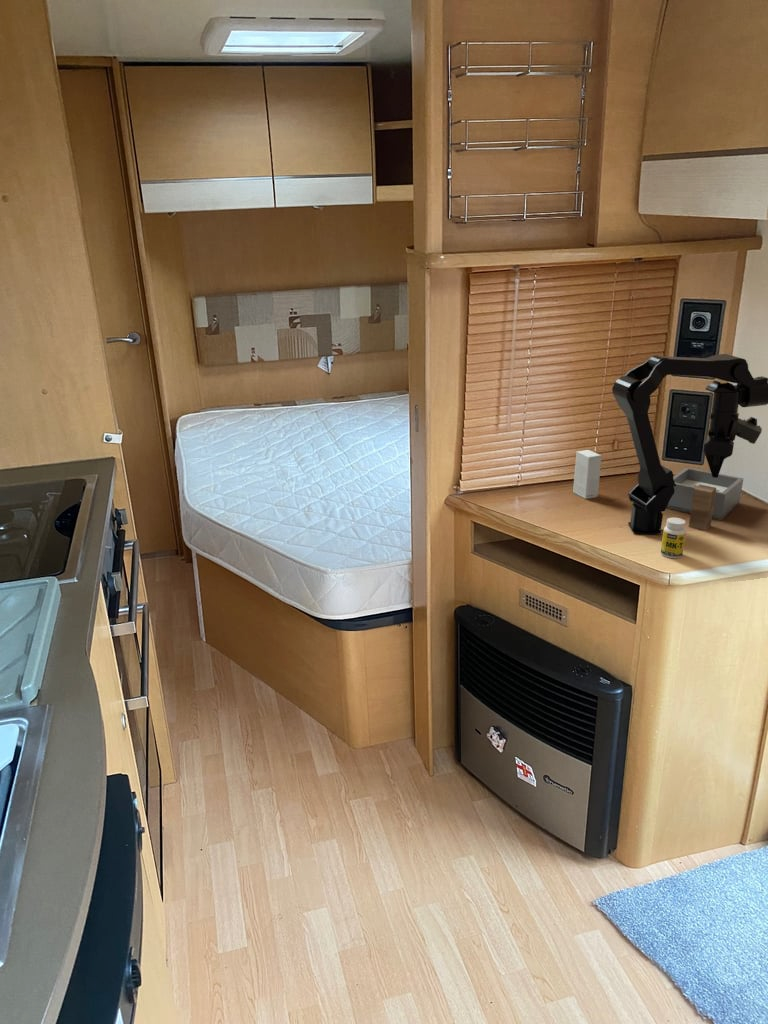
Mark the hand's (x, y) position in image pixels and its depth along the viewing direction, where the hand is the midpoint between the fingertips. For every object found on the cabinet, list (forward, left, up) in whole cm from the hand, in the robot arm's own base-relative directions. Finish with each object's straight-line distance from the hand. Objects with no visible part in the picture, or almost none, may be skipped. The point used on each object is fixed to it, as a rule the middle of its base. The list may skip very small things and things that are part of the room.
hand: (716, 471), depth 190 cm
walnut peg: (-3, -3, -14) cm, 14 cm away
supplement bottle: (-15, -20, -14) cm, 28 cm away
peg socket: (+2, +12, -14) cm, 18 cm away
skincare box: (-27, +19, -14) cm, 36 cm away
